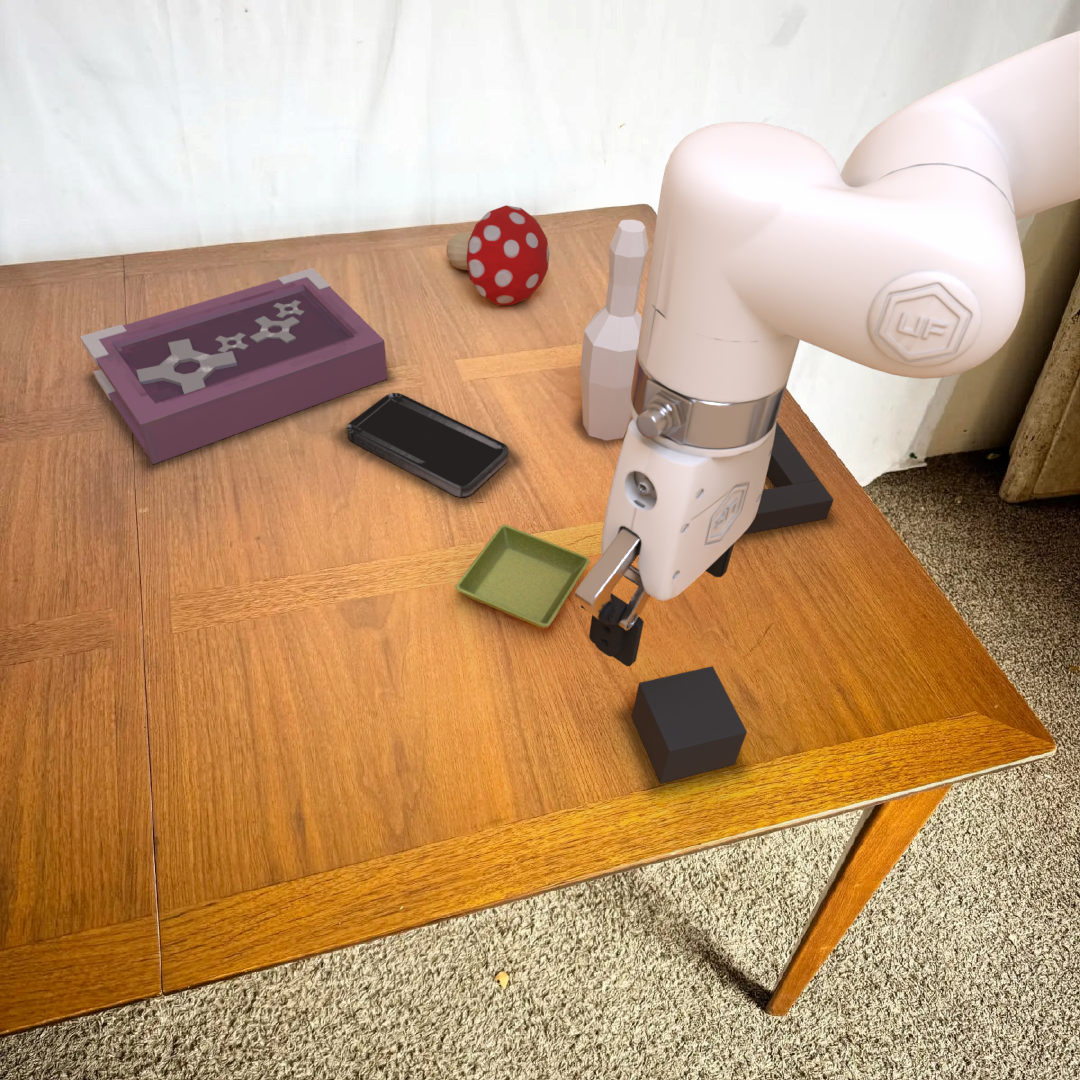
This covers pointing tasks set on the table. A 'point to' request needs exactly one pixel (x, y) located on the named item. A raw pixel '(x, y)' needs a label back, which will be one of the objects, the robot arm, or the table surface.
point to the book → (234, 362)
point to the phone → (428, 444)
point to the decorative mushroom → (503, 255)
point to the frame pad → (790, 490)
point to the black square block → (687, 724)
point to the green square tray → (523, 576)
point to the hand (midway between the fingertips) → (659, 606)
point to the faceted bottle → (614, 338)
